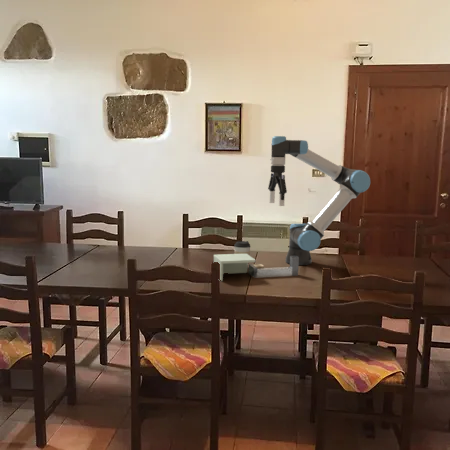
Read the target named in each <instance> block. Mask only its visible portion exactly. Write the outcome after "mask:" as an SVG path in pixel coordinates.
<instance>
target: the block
mask: <svg viewBox="0 0 450 450" xmlns="http://www.w3.org/2000/svg"><path fill="white" fill-rule="evenodd" d="M252 264H253V265H254V266H255V267H257V268H265V265H264V264H262V263H252Z"/></svg>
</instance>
